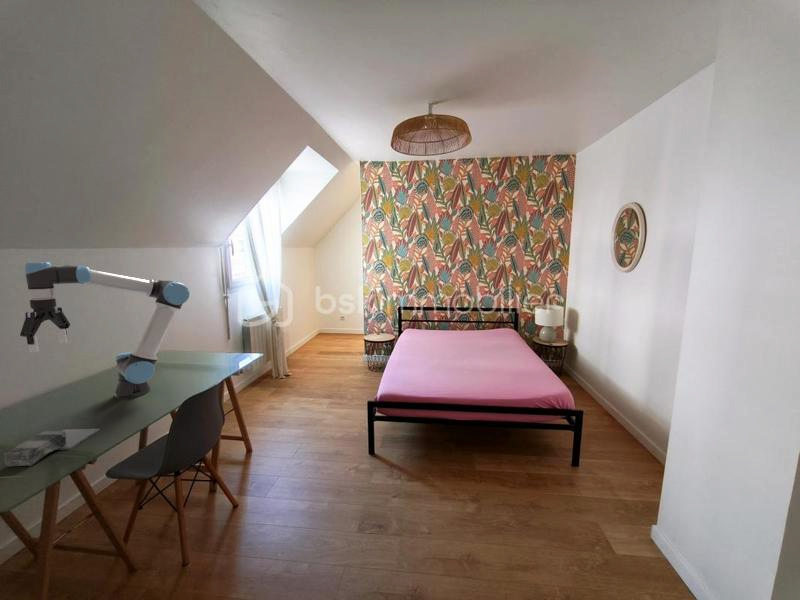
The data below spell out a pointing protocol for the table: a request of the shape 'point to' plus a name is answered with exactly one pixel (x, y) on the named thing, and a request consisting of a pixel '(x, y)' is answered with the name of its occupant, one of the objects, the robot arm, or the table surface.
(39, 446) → the stone block
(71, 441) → the slate pad
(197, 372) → the table surface
